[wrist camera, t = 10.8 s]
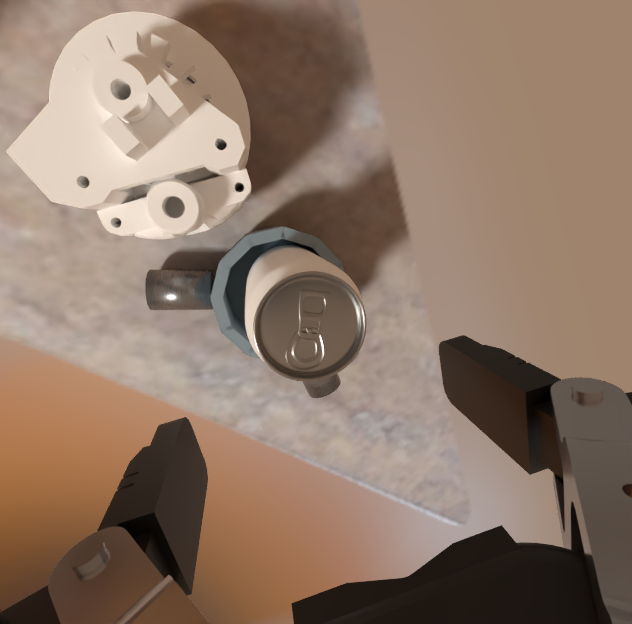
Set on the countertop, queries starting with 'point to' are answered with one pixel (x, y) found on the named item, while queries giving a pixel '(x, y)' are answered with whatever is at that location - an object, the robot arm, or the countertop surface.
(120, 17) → the mechanical part
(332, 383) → the shaft
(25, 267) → the countertop surface
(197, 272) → the shaft
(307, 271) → the can
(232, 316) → the collar
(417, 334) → the countertop surface
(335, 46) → the countertop surface
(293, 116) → the countertop surface
